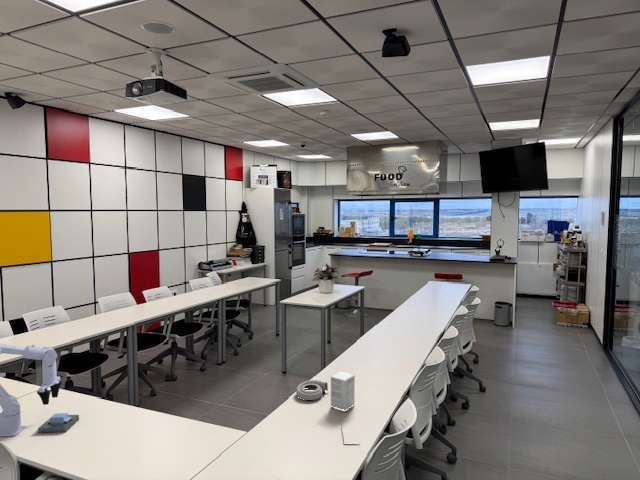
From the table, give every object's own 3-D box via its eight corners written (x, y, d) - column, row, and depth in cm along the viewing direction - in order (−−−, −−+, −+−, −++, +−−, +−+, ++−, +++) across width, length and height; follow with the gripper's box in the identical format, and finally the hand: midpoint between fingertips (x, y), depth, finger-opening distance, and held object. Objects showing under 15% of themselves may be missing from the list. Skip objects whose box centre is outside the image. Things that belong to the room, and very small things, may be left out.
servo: (47, 428, 194) (46, 417, 193) (52, 423, 198) (51, 413, 197) (67, 427, 194) (66, 417, 194) (71, 423, 198) (71, 413, 198)
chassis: (38, 433, 190) (38, 428, 190) (53, 420, 202) (53, 415, 201) (65, 432, 190) (65, 427, 190) (79, 419, 202) (78, 414, 202)
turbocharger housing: (290, 399, 228) (313, 406, 220) (290, 388, 227) (313, 394, 219) (308, 386, 242) (330, 392, 234) (307, 376, 242) (329, 381, 233)
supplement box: (340, 401, 223) (340, 370, 222) (354, 406, 218) (355, 374, 217) (330, 408, 215) (330, 376, 214) (345, 413, 210) (345, 380, 209)
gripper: (49, 378, 193) (50, 407, 194) (66, 367, 208) (67, 393, 208) (33, 379, 193) (34, 407, 194) (51, 367, 207) (52, 394, 208)
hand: (50, 400), depth 201 cm, fingers open, 7 cm apart
